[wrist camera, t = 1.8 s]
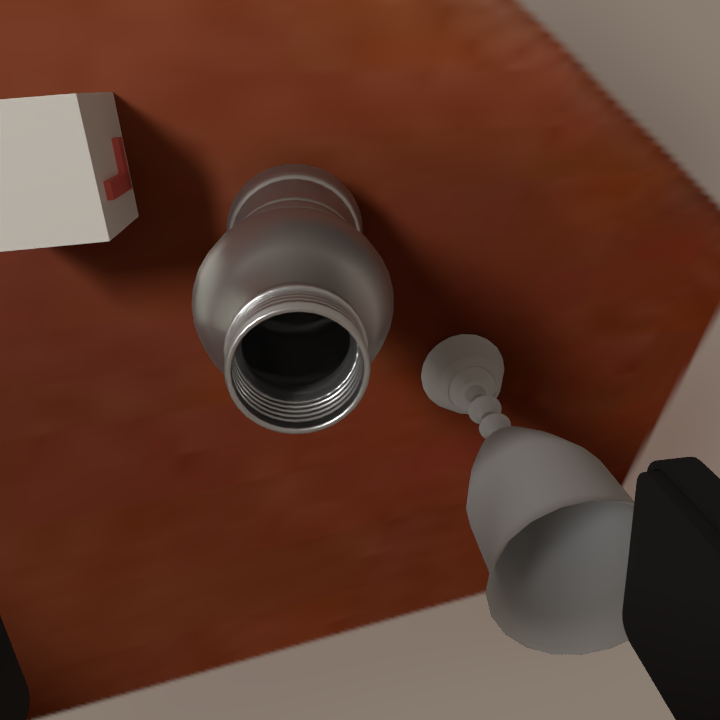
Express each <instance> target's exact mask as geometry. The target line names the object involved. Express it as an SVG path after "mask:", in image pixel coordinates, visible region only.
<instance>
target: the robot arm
mask: <svg viewBox="0 0 720 720" xmlns="http://www.w3.org/2000/svg"><path fill="white" fill-rule="evenodd" d="M635 494H636V495H635V502H634V511H633V520H632V529H631V538H630V547H629V556H628V565H627V573H626V582H625V591H624V600H623V609H622V620H623V626H624V630H625V633H626V635H627V638H628V640H629V642H630V643H631V645H632V647H633V649H634V650H635V652H636V653H637V655H638V657H639V659H640V660H641V662H642V664H643V665H644V667H645V669H646V670H647V672H648V674H649V676H650V677H651V679H652V681H653V682H654V684H655V686H656V687H657V689H658V691H659V692H660V694H661V696H662V698H663V699H664V701H665V702H666V704H667V706H668V708H669V709H670V711H671V713H672V714H673V716H674V718H675V719H676V720H720V479H719V478H718V477H717V476H716V475H715V474H714V473H713V472H712V471H711V470H710V469H709V468H708V467H707V466H706V465H705V464H703V463H702V462H701V461H700V460H698V459H697V458H695V457H684V458H675V459H666V460H658V461H654V462H652V463H651V464H650V465H649V467H648V470H647V472H643V473H641V474H640V475H639V476H638V479H637V485H636V493H635ZM29 700H30V698H29V690H28V686H27V684H26V681H25V679H24V676H23V674H22V671H21V668H20V666H19V663H18V661H17V658H16V655H15V653H14V650H13V648H12V645H11V642H10V640H9V637H8V635H7V632H6V630H5V627H4V624H3V622H2V619H1V617H0V720H26V717H27V714H28V709H29Z"/></svg>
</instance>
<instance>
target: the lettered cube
mask: <svg viewBox="0 0 720 720" xmlns="http://www.w3.org/2000/svg"><path fill="white" fill-rule="evenodd" d="M137 217H139V215H138V210H137V206H136V201H135V196H134V191H133V186H132V181H131V177H130V172H129V167H128V162H127V157H126V153H125V148H124V143H123V138H122V133H121V128H120V124H119V119H118V114H117V109H116V104H115V99H114V95H113V92H100V93H75V94H63V95H50V96H38V97H26V98H13V99H1V100H0V252H1V251H12V250H23V249H33V248H44V247H55V246H65V245H76V244H86V243H97V242H108V241H111V240H112V239H113V238H114V237H115V236H116V235H118V234H119V233H120V232H121V231H122V230H123V229H125V228H126V227H127V226H128V225H129V224H130V223H132V222H133V221H134V220H135V219H136V218H137Z"/></svg>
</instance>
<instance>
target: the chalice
mask: <svg viewBox="0 0 720 720" xmlns="http://www.w3.org/2000/svg"><path fill="white" fill-rule="evenodd" d="M503 374H504V363H503V357H502V356H501V354H500V352H499V350H498V348H497V347H496V346H495V345H494V344H493V343H491V342H490V341H489V340H488V339H485V338H483V337H480V336H478V335H471V334H461V335H457V336H452V337H449V338H447V339H446V340H444V341H442V342H440V343H439V344H437V345H436V346H435V347H434V348H433V349H432V350H431V352H430V353H429V354H428V356H427V358H426V360H425V362H424V364H423V367H422V374H421V379H422V384H423V389H424V391H425V392H426V394H427V395H428V397H429V399H431V400H432V401H433V402H434V403H436V404H437V405H438V406H440V407H443V408H446V409H449V410H452V411H455V412H457V413H460V414H469V417H470V418H471V420H472V421H474V422H475V423H478V424H480V426H479V431H480V434H481V435H482V436H483V437H484V438H485V441H484V442H483V444H482V446H481V448H480V450H479V453H478V455H477V458H476V460H475V462H474V465H473V467H472V471H471V477H470V483H469V491H468V498H467V506H466V509H467V513H468V518H469V522H470V526H471V529H472V531H473V533H474V536H475V538H476V541H477V543H478V546H479V548H480V551H481V553H482V555H483V558H484V560H485V563H486V565H487V568H488V570H489V573H490V574H489V579H488V584H487V589H486V596H487V600H488V604H489V609H490V613H491V616H492V618H493V619H494V620H495V621H496V623H497V624H498V625H499V627H500V628H501V629H502V631H503V632H504V633H505V634H506V635H507V636H509V637H510V638H512V639H514V640H515V641H517V642H519V643H520V644H522V645H524V646H525V647H527V648H531V649H535V650H539V651H542V652H546V653H550V654H576V655H582V654H587V653H591V652H596V651H601V650H605V649H610V648H612V647H615V646H617V645H619V644H622V643H624V642H626V641H628V638H627V635H626V633H625V630H624V626H623V620H622V609H623V600H624V591H625V582H626V573H627V565H628V556H629V547H630V538H631V529H632V520H633V511H634V501H633V500H632V499H631V497H630V496H629V495H628V494H627V493H626V491H625V490H624V489H623V488H622V486H621V485H620V484H619V483H618V482H617V480H616V479H615V478H614V477H613V476H612V474H611V473H610V472H609V471H608V469H607V468H606V467H605V466H604V465H603V463H602V462H601V461H600V460H599V459H598V458H596V457H595V456H594V455H593V454H591V453H590V452H589V451H587V450H586V449H585V448H583V447H581V446H578V445H576V444H574V443H572V442H570V441H567V440H565V439H563V438H561V437H558V436H555V435H553V434H550V433H547V432H544V431H539V430H534V429H529V428H524V427H517V426H511V423H510V420H509V419H508V417H506V416H505V415H503V414H501V409H502V408H501V404H500V402H499V400H497V399H496V398H497V396H498V395H499V393H500V390H501V385H502V379H503Z"/></svg>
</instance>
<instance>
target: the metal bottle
mask: <svg viewBox="0 0 720 720" xmlns="http://www.w3.org/2000/svg"><path fill="white" fill-rule="evenodd" d="M393 311H394V293H393V287H392V283H391V279H390V275H389V272H388V270H387V268H386V266H385V264H384V262H383V259H382V257H381V256H380V255H379V253H378V252H377V251H376V249H375V248H374V247H373V245H372V244H371V243H370V242H369V241H368V239H367V238H366V237H365V236H364V235H363V234H362V218H361V214H360V210H359V207H358V205H357V203H356V201H355V199H354V196H353V195H352V194H351V192H350V191H349V190H348V188H347V187H346V186H345V185H344V184H343V183H342V182H341V181H340V180H338V179H337V178H336V177H335V176H333V175H331V174H330V173H328V172H326V171H325V170H322V169H319V168H316V167H313V166H310V165H303V164H283V165H279V166H276V167H272V168H269V169H267V170H265V171H263V172H261V173H259V174H257V175H256V176H254V177H253V178H252V179H250V180H249V181H248V182H247V183H246V184H245V185H244V186H243V187H242V188H241V189H240V191H239V192H238V193H237V195H236V197H235V199H234V200H233V202H232V204H231V208H230V211H229V214H228V219H227V232H226V233H225V234H224V235H223V236H222V237H221V238H220V239H219V241H218V242H217V243H216V244H215V245H214V246H213V247H212V249H211V250H210V251H209V252H208V253H207V255H206V257H205V259H204V260H203V262H202V264H201V266H200V268H199V269H198V273H197V276H196V279H195V283H194V286H193V294H192V313H193V319H194V325H195V328H196V330H197V333H198V336H199V338H200V341H201V343H202V345H203V347H204V349H205V351H206V352H207V354H208V355H209V357H210V359H211V360H212V362H213V363H214V364H215V365H216V366H217V368H218V369H219V370H220V371H221V372H222V373H223V374H224V375H225V381H226V385H227V388H228V391H229V393H230V396H231V398H232V399H233V401H234V403H235V404H236V406H237V407H238V408H239V409H240V410H241V411H242V412H243V413H244V415H245V416H246V417H248V418H249V419H251V420H252V421H254V422H255V423H257V424H258V425H261V426H263V427H265V428H267V429H269V430H273V431H277V432H281V433H291V434H301V433H311V432H315V431H319V430H323V429H325V428H327V427H329V426H332V425H334V424H336V423H337V422H339V421H340V420H342V419H343V418H345V417H346V416H347V415H348V414H349V413H350V412H351V411H352V410H353V409H354V408H355V407H356V406H357V404H358V403H359V402H360V400H361V399H362V397H363V395H364V393H365V390H366V388H367V386H368V380H369V375H370V364H371V363H372V361H373V360H374V358H375V357H376V355H377V354H378V352H379V351H380V349H381V347H382V345H383V343H384V341H385V338H386V336H387V334H388V331H389V329H390V326H391V321H392V316H393Z"/></svg>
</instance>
